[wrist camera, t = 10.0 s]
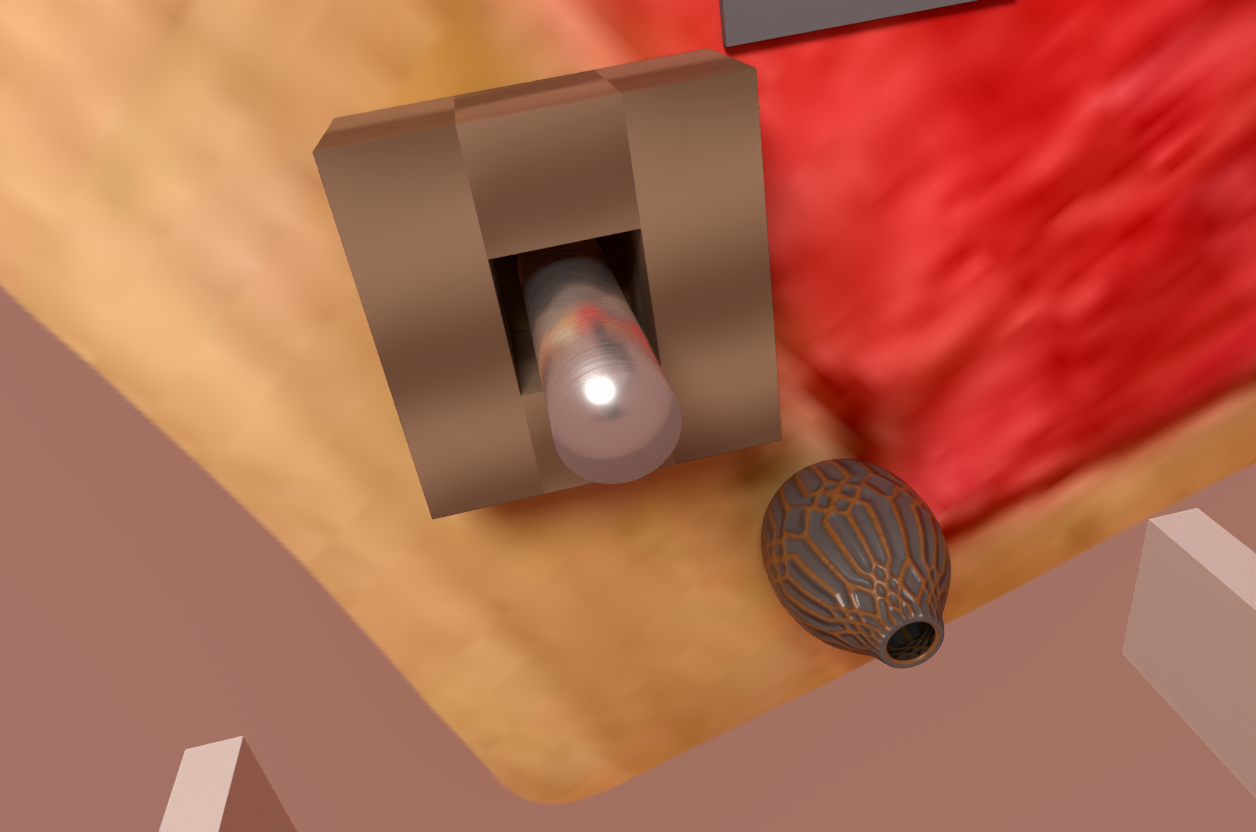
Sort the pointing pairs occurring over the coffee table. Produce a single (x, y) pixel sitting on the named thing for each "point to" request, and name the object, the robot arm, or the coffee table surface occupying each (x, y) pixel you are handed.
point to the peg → (596, 366)
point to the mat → (807, 15)
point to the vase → (859, 561)
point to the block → (549, 216)
